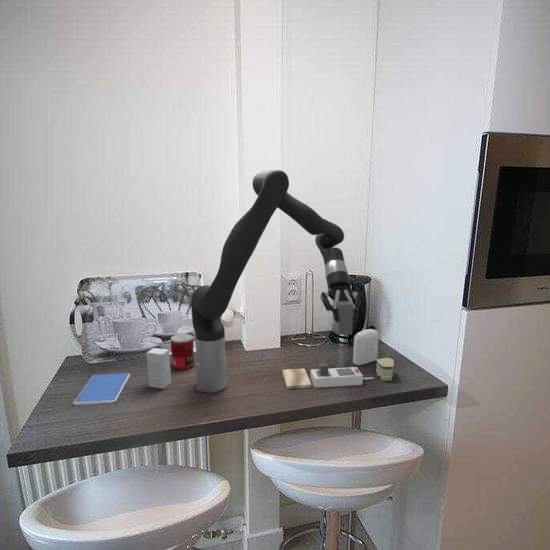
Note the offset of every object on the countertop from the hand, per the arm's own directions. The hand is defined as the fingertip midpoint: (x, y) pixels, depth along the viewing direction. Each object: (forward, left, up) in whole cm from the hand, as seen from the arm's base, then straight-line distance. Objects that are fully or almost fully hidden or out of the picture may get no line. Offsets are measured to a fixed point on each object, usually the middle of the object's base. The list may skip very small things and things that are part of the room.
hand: (345, 320), depth 125 cm
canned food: (-54, +21, -22) cm, 62 cm away
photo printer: (+13, +16, -22) cm, 30 cm away
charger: (0, +2, -5) cm, 5 cm away
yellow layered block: (+16, +4, -22) cm, 28 cm away
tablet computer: (-78, +7, -23) cm, 81 cm away
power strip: (+1, +2, -22) cm, 22 cm away
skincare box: (-60, +7, -22) cm, 64 cm away
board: (-15, +5, -22) cm, 27 cm away
